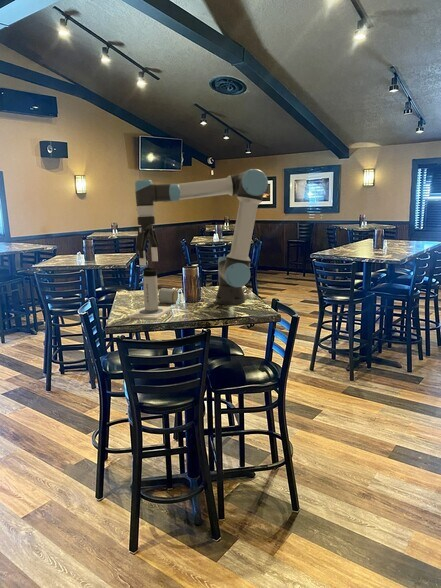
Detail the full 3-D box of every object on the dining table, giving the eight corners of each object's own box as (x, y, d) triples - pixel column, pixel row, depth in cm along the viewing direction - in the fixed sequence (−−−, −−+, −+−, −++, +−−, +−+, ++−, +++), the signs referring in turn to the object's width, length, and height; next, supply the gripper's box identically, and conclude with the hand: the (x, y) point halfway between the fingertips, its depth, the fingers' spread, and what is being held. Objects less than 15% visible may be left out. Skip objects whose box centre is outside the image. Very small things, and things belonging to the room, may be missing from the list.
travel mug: (154, 308, 207) (152, 266, 203) (160, 311, 202) (158, 268, 198) (142, 310, 204) (140, 268, 200) (148, 313, 198) (146, 269, 194)
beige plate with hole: (173, 308, 211) (173, 306, 210) (157, 319, 192) (156, 317, 192) (146, 307, 214) (146, 305, 214) (127, 317, 195) (127, 315, 195)
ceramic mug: (173, 305, 218) (173, 289, 216) (158, 304, 220) (157, 289, 219) (181, 300, 228) (180, 286, 226) (166, 300, 230) (166, 285, 229)
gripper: (149, 215, 207) (152, 259, 211) (125, 217, 183) (129, 267, 187) (164, 214, 205) (166, 259, 209) (141, 216, 181) (145, 267, 185)
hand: (149, 263), depth 198 cm, fingers open, 13 cm apart
